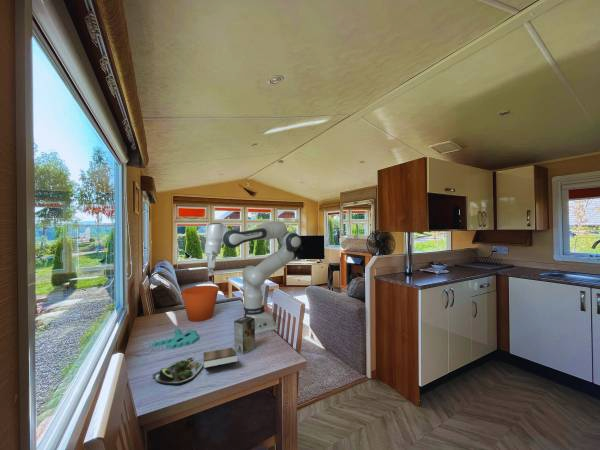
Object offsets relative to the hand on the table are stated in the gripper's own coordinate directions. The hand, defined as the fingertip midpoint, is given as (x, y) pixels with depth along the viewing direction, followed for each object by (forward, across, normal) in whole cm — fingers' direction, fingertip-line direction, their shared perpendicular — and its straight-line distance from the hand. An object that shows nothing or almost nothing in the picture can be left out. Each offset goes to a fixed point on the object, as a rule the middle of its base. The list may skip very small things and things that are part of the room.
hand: (209, 274), depth 147 cm
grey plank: (+34, -36, -8) cm, 50 cm away
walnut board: (+36, -26, -8) cm, 45 cm away
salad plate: (+38, -34, +9) cm, 52 cm away
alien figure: (+40, +3, +12) cm, 41 cm away
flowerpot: (+38, +38, +2) cm, 54 cm away
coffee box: (+35, -22, -21) cm, 46 cm away
